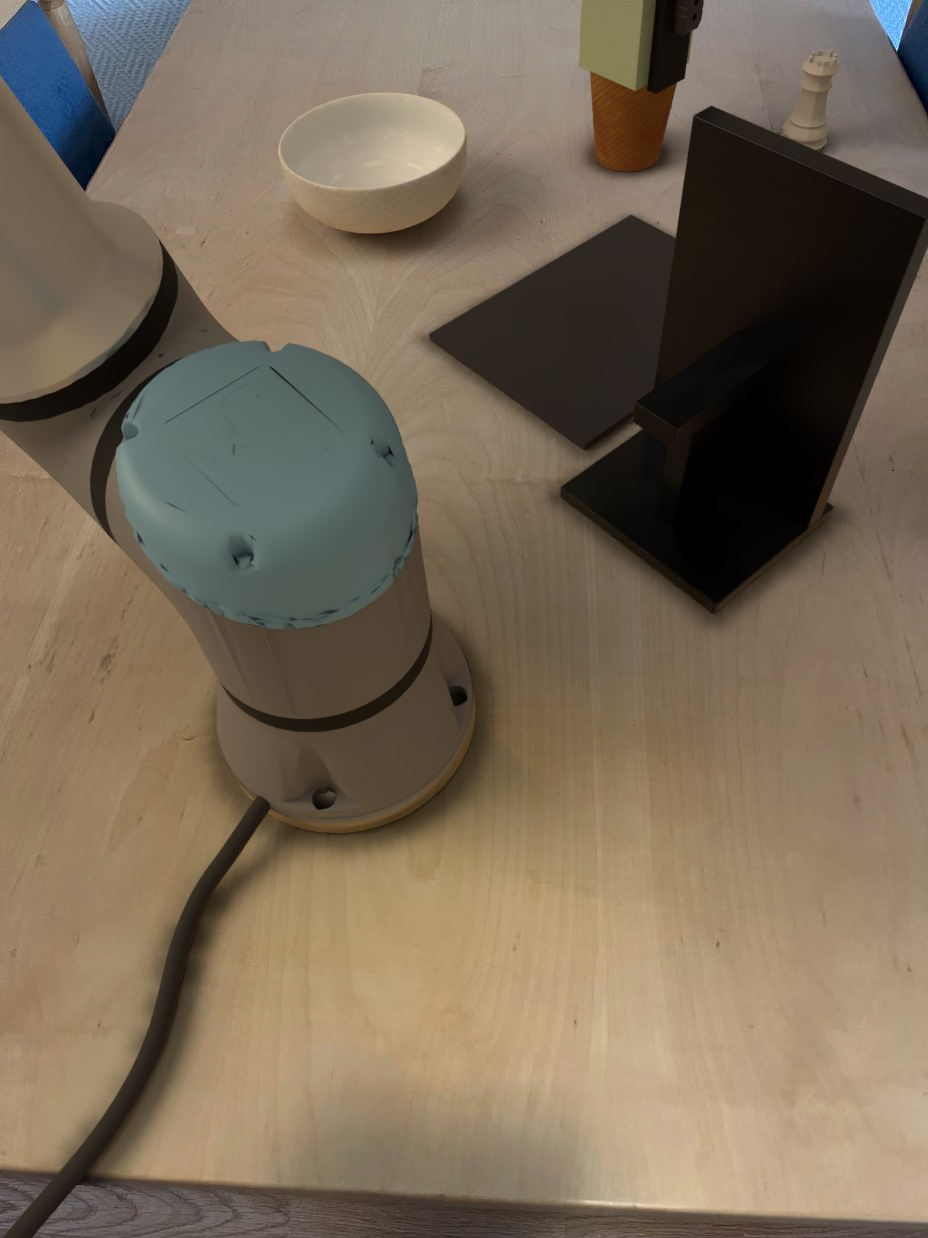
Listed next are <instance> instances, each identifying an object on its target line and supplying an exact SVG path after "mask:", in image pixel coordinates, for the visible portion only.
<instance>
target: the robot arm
mask: <svg viewBox="0 0 928 1238" xmlns="http://www.w3.org/2000/svg"><path fill="white" fill-rule="evenodd" d="M704 1H705V0H656V5H655V16H654V26H653V36H652V46H651V56H650V66H649V76H648V84H647V91H650V92H652V93H654V94H657V93H659V92H661V91H663V90H665V89H666V88H668V87H670V86H672V85H674V84H676V83H677V84H678V83H679V82H681V81H683V80H685V79H686V71H687V65H688V63H687V57H688V50H689V42H690V34H691V31H693V32H694V31H695V30H697V29H698V28H699V26H700V24H701V21H702V19H703V11H704V5H705V2H704ZM0 432H1V433H2V434H4V435H5V436H6V437H7V438H8V439H9V440H10V441H11V442H12V443H14V444H15V445H16V446H17V447H18V448H20V449H21V450H22V451H23V452H24V454H26V455H27V456H29V457H30V458H31V459H32V460H33V461H34V462H35V463H36V464H37V465H38V466H39V467H40V468H42V469H43V470H44V471H45V472H46V473H47V474H48V475H49V476H50V477H51V478H52V479H53V480H54V481H55V482H56V483H57V484H58V485H59V486H61V487H62V489H64V490H65V492H67V494H68V495H69V496H70V497H71V498H72V499H73V500H74V501H75V502H76V503H77V504H78V505H79V506H80V507H81V508H82V509H83V510H84V511H85V512H86V514H88V516H89V517H91V519H92V520H93V521H94V522H96V524H97V525H98V526H99V527H100V528H101V530H103V531H104V532H105V534H106V535H107V536H108V537H109V538H110V540H112V541H113V542H114V543H115V544H116V545H117V546H118V547H119V549H120V550H122V552H123V553H124V554H126V556H127V557H128V558H129V559H130V560H131V561H132V562H133V563H134V564H135V566H137V568H138V569H139V570H141V572H142V573H143V574H144V575H145V576H146V577H147V578H148V579H149V580H150V582H152V583H153V584H154V585H155V587H157V589H158V590H159V591H160V592H161V593H162V594H163V595H164V596H165V598H167V599H168V601H169V602H170V603H171V604H172V605H173V607H174V608H175V610H176V611H177V612H178V613H179V615H180V617H182V618H183V620H184V621H185V623H186V624H187V626H188V627H189V629H190V630H191V632H192V634H193V637H195V640H196V641H197V644H198V645H199V646H200V648H201V650H202V653H203V654H204V656H205V657H206V659H207V661H208V664H209V666H210V667H211V669H212V671H213V672H214V674H215V676H216V677H217V692H216V705H215V716H214V717H215V733H216V739H217V743H218V747H219V750H220V752H221V755H222V758H223V760H224V762H225V764H226V766H227V767H228V769H229V771H230V773H231V774H232V776H233V778H234V779H235V781H236V783H237V784H238V785H239V787H240V788H241V789H242V791H243V792H244V794H245V795H246V796H247V797H248V798H249V799H250V801H252V803H251V804H250V805H249V807H248V809H247V810H246V812H245V813H244V815H243V816H242V817H241V819H240V820H239V822H238V823H237V825H236V826H235V828H234V829H233V830H232V832H231V833H230V835H229V837H228V838H227V839H226V841H225V842H224V844H223V845H222V847H221V848H220V850H219V851H218V852H217V854H216V856H214V858H213V860H212V861H211V862H210V863H209V864H208V866H207V868H206V869H205V870H204V872H203V873H202V874H201V876H200V877H199V879H198V881H197V882H196V884H195V886H194V887H193V889H192V891H191V892H190V895H189V896H188V898H187V901H186V903H185V905H184V907H183V908H182V911H181V914H180V916H179V919H178V921H177V924H176V926H175V929H174V931H173V936H172V938H171V941H170V944H169V948H168V951H167V955H166V959H165V963H164V967H163V972H162V976H161V979H160V984H159V988H158V992H157V996H156V1001H155V1003H154V1004H155V1005H154V1008H153V1012H152V1015H151V1018H150V1022H149V1026H148V1028H147V1031H146V1033H145V1035H144V1036H145V1037H144V1039H143V1041H142V1044H141V1047H140V1049H139V1051H138V1053H137V1056H136V1058H135V1060H134V1062H133V1064H132V1066H131V1068H130V1070H129V1072H128V1074H127V1075H126V1077H125V1079H124V1081H123V1083H122V1085H121V1086H120V1088H119V1090H118V1092H117V1093H116V1095H115V1097H114V1098H113V1099H112V1101H111V1103H110V1104H109V1106H108V1108H107V1109H106V1111H105V1112H104V1114H103V1115H102V1116H101V1118H100V1119H99V1121H98V1122H97V1123H96V1125H95V1126H94V1128H93V1129H92V1131H91V1132H90V1133H89V1134H88V1136H87V1137H86V1138H85V1140H84V1141H83V1142H82V1144H81V1145H80V1146H79V1147H78V1149H77V1150H76V1151H75V1152H74V1154H73V1155H71V1157H70V1158H69V1160H68V1161H67V1162H66V1163H65V1164H64V1165H63V1167H62V1168H61V1169H60V1170H59V1171H58V1173H56V1175H55V1176H54V1177H53V1179H51V1180H50V1182H49V1183H48V1184H47V1185H46V1186H45V1188H44V1189H42V1191H41V1192H40V1193H39V1194H38V1196H37V1197H36V1198H34V1200H33V1202H31V1204H30V1205H29V1206H27V1208H26V1209H25V1211H24V1212H23V1213H22V1214H21V1215H20V1217H19V1218H17V1220H16V1221H15V1222H14V1223H13V1224H12V1226H11V1227H10V1228H9V1229H8V1230H7V1231H6V1233H5V1234H4V1235H3V1236H2V1238H33V1237H35V1235H36V1234H37V1232H38V1231H39V1230H40V1229H41V1228H42V1227H43V1226H44V1224H46V1222H47V1221H48V1220H49V1218H51V1216H52V1215H53V1213H55V1212H56V1210H57V1209H58V1208H59V1207H60V1206H61V1204H62V1203H63V1202H64V1201H65V1200H66V1199H67V1197H68V1196H69V1195H70V1194H71V1193H72V1192H73V1190H74V1189H75V1188H76V1187H77V1186H78V1184H80V1182H81V1181H82V1180H83V1179H84V1178H85V1176H86V1175H87V1174H88V1172H89V1171H90V1170H91V1169H92V1167H93V1166H94V1165H95V1164H96V1162H97V1161H98V1160H99V1158H100V1157H101V1156H102V1155H103V1153H104V1152H105V1151H106V1149H107V1148H108V1147H109V1146H110V1145H111V1143H112V1141H113V1140H114V1138H115V1136H116V1135H117V1134H118V1132H119V1131H120V1129H122V1126H123V1125H124V1124H125V1122H126V1120H127V1119H128V1117H129V1116H130V1114H131V1112H132V1111H133V1109H134V1107H135V1106H136V1104H137V1103H138V1101H139V1099H140V1097H141V1096H142V1093H143V1092H144V1091H145V1088H146V1086H147V1084H148V1083H149V1081H150V1079H151V1077H152V1074H153V1072H154V1070H155V1069H156V1066H157V1065H158V1062H159V1060H160V1057H161V1055H162V1052H163V1049H164V1048H165V1044H166V1041H167V1039H168V1035H169V1033H170V1031H171V1027H172V1023H173V1019H174V1015H175V1011H176V1008H177V1003H178V1000H179V996H180V990H181V986H182V981H183V977H184V972H185V969H186V964H187V960H188V957H189V953H190V949H191V945H192V943H193V939H194V936H195V934H196V931H197V927H198V925H199V923H200V920H201V919H202V915H203V912H204V911H205V909H206V906H207V905H208V903H209V901H210V899H211V897H212V896H213V894H214V892H215V890H216V889H217V887H218V886H219V884H220V883H221V881H222V880H223V878H225V876H226V874H227V873H229V870H230V869H231V868H232V867H233V865H234V863H235V862H236V860H237V859H238V857H239V856H240V855H241V853H242V852H243V850H244V849H245V847H246V846H247V844H248V843H249V842H250V840H251V839H252V838H253V835H254V834H255V832H256V831H257V830H258V828H259V827H260V825H261V823H262V822H263V820H264V819H265V817H266V816H267V814H268V815H269V816H271V817H273V818H275V819H276V820H278V821H280V822H283V823H285V824H287V825H289V826H292V827H295V828H299V829H301V830H306V831H311V832H317V833H326V834H346V833H357V832H362V831H367V830H372V829H376V828H378V827H383V826H385V825H387V824H390V823H393V822H396V821H398V820H400V819H402V818H404V817H405V816H408V815H409V814H411V813H413V812H414V811H416V810H418V809H419V808H420V807H422V806H423V805H425V804H426V803H428V802H429V801H430V800H431V799H432V798H433V797H434V796H436V795H437V794H438V793H439V792H440V791H441V790H442V789H443V788H444V787H445V785H446V784H448V783H449V781H450V780H451V778H452V777H453V776H454V774H455V773H456V771H457V770H458V768H459V767H460V765H461V763H462V762H463V759H464V758H465V756H466V754H467V752H468V750H469V747H470V743H471V741H472V738H473V733H474V729H475V723H476V697H475V687H474V678H473V674H472V669H471V665H470V663H469V660H468V658H467V656H466V654H465V651H464V649H463V648H462V646H461V644H460V643H459V641H458V640H457V639H456V637H455V636H454V634H453V633H452V632H451V631H450V630H449V629H448V628H447V627H446V625H445V624H444V623H443V622H442V620H441V619H440V618H439V617H438V616H437V615H436V613H435V612H434V611H433V610H432V608H431V602H430V596H429V588H428V581H427V574H426V568H425V562H424V553H423V547H422V540H421V539H422V538H421V533H420V525H419V514H418V505H419V504H418V503H419V495H418V487H417V482H416V478H415V476H414V472H413V468H412V464H411V463H410V461H409V458H408V454H407V450H406V447H405V445H404V443H403V439H402V436H401V431H400V429H399V427H398V424H397V422H396V419H395V417H394V415H393V413H392V412H391V409H390V408H389V407H388V405H387V403H386V401H385V400H384V399H383V397H382V396H381V394H380V393H379V391H377V390H376V388H375V387H374V386H373V385H372V384H371V383H370V382H369V381H368V380H367V379H366V378H364V376H362V375H361V374H360V373H359V372H358V371H356V370H355V369H353V368H352V367H351V366H349V365H348V364H346V363H344V362H343V361H342V360H339V359H337V358H336V357H334V356H332V355H329V354H327V353H325V352H322V351H320V350H317V349H315V348H312V347H309V346H305V345H302V344H298V343H297V344H296V343H290V342H288V343H286V344H285V345H284V346H283V347H282V348H281V349H280V350H276V351H272V350H271V348H270V346H269V344H268V343H267V342H266V341H265V340H257V339H256V340H254V339H253V340H241V341H240V340H239V339H237V337H235V336H234V335H232V333H230V332H229V331H228V330H227V329H226V328H225V327H224V326H223V325H222V324H221V323H220V322H219V321H218V319H216V317H214V315H213V314H212V313H211V311H210V310H209V309H208V308H207V307H206V305H205V303H204V302H203V301H202V300H201V298H200V297H199V295H198V294H197V292H196V290H195V289H194V287H193V286H192V284H191V283H190V282H189V280H188V279H187V277H186V276H185V275H184V273H183V272H182V270H181V269H180V267H179V265H177V263H176V261H175V260H174V259H173V257H172V256H171V254H170V253H169V251H168V250H167V248H166V247H165V245H164V244H163V242H162V241H161V239H160V238H159V237H158V235H157V233H156V232H155V231H154V229H153V228H152V227H151V225H150V223H149V222H148V221H147V220H146V219H145V218H144V217H143V216H142V215H140V214H139V213H138V212H136V211H134V210H133V209H131V208H129V207H127V206H125V205H122V204H118V203H115V202H111V201H105V200H103V201H102V200H95V199H94V200H93V199H91V198H90V197H89V195H88V194H87V193H86V191H85V190H84V189H83V187H82V186H81V184H80V183H79V182H78V180H77V179H76V178H75V176H74V175H73V173H72V172H71V171H70V169H69V167H67V165H66V164H65V163H64V161H63V160H62V158H61V156H60V155H59V154H58V153H57V152H56V150H55V149H54V147H53V146H52V144H51V143H50V142H49V141H48V139H47V137H46V136H45V135H44V134H43V132H42V131H41V130H40V128H39V126H38V125H37V124H36V122H35V121H34V120H33V118H32V117H31V115H30V114H29V113H28V111H27V110H26V109H25V107H24V105H22V103H21V102H20V100H19V98H17V96H16V95H15V94H14V92H13V91H12V89H11V88H10V87H9V85H8V84H7V82H6V81H5V80H4V79H3V76H1V75H0Z"/></svg>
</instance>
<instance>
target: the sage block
mask: <svg viewBox="0 0 928 1238" xmlns="http://www.w3.org/2000/svg"><path fill="white" fill-rule="evenodd" d="M580 1H581V2H580V3H581V4H580V26H579V27H580V28H579V29H580V31H579V32H580V33H579V54H578V66H579V67H580V68H583V69H584V70H586V71H588V72H590V71H591V72H593V73H595V74H598V75H600V76H602V77H605V78H607V79H609V80H611V81H614V82H616V83H618V84H620V85H623V86H625V87H627V88H630V89H632V90H634V91H636V90H638V89H640V88H642V87H644V86H646V85H647V84H648V76H649V66H650V56H651V46H652V36H653V26H654V16H655V5H656V0H580ZM693 33H694V30H693V31H691V34H690V42H689V50H688V57H687V64H689V63H690V55H691V51H692V50H691V48H692V41H693V35H694V34H693Z"/></svg>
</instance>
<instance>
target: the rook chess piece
mask: <svg viewBox="0 0 928 1238" xmlns="http://www.w3.org/2000/svg"><path fill="white" fill-rule="evenodd" d="M823 51H824V49H822V48H819V49H817V50H816V51H814V50H812V51H811V52H810V53H809V55H808V58H807V59H806V60H805V61H804V62H803V64H802V66H801V68H802V70H803V73H804V74H805V75H804V78H803V79H802V80H801V82H800V85H801V91H800V94H799V98H798V101H797V103H796V106H795V108H794V110H793V112H792V113H790V115H789V118H788V119H787V120H785V122H784V124H783V126H782V129H781V130H782V133H780V135H782V136H784V137H786V138H789V139H791V140H793V141H796V142H798V143H800V144H803V145H805V146H807V147H810V148H812V149H814V150H817V151H820V150H821V149H822V148H823V147H824V146H825V145H826V144H827V142H828V138H827V136H828V134H829V131H830V129H829V124H828V122H827V120H828V117H827V116H826V108H827V100H828V95H829V91H830V90H831V89H833V83H832V78H833V77H834V76H835V75H836V74H837V73H838V72H839V70H840V66H839V63H838V57H839V55H838V53H837V52H836V53H834V51H833V50H830V49H827V51H826V54H823Z"/></svg>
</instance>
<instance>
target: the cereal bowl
mask: <svg viewBox="0 0 928 1238" xmlns="http://www.w3.org/2000/svg"><path fill="white" fill-rule="evenodd" d="M467 142H468V137H467V129H466V126H465V123H464V122H463V120H462V119H461V117H460V116H459V115H458V114H457V113H456V112H455V111H454V110H453V109H451V108H449V107H448V106H446V105H445V104H442V103H441V102H439V101H437V100H434V99H431V98H428V97H425V96H421V95H417V94H413V93H412V94H411V93H404V92H386V91H385V92H367V93H359V94H353V95H348V96H345V97H340V98H337V99H334V100H330V101H327V102H325V103H322V104H319V105H317V106H315V107H314V108H312V109H310V110H308V111H306V112H304V113H303V114H301V115H300V116H299V117H297V118H296V119H295V120H293V122H291V123H290V124H289V126H288V127H287V128H286V129H285V130H284V132H283V134H282V135H281V137H280V139H279V143H278V149H277V151H278V159H279V164H280V167H281V172H282V175H283V179H284V181H285V183H286V187H287V188H288V189H289V192H290V194H291V196H292V197H293V199H294V201H295V202H296V203H297V205H298V206H300V207H301V208H302V210H303V211H305V212H306V213H307V214H308V216H310V217H312V218H314V219H315V220H317V221H319V222H320V223H321V224H324V225H325V226H328V227H331V228H333V229H337V230H339V231H345V232H348V233H356V234H373V235H374V234H386V233H392V232H397V231H401V230H405V229H408V228H410V227H414V226H417V225H418V224H420V223H423V222H425V221H427V220H429V219H431V218H432V217H433V216H435V215H436V214H437V213H439V212H440V211H441V210H443V208H444V207H446V205H447V204H448V203H449V202H450V201H451V199H452V198H453V197H454V196H455V194H456V192H457V191H458V189H459V187H460V185H461V183H462V180H463V177H464V174H465V168H466V163H467V156H468V153H467V148H468V143H467Z"/></svg>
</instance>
